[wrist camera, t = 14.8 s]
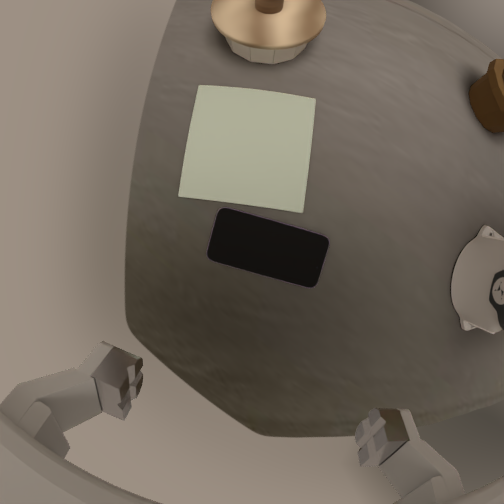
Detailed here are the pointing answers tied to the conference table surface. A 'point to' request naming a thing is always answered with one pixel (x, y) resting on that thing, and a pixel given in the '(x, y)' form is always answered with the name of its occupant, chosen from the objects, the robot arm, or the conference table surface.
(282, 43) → the lid
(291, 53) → the bowl
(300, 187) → the mat
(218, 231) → the smartphone
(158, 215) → the conference table surface
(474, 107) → the flowerpot
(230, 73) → the conference table surface
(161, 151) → the conference table surface
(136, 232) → the conference table surface
